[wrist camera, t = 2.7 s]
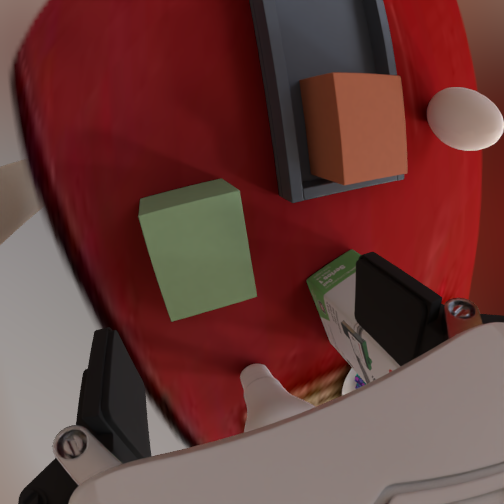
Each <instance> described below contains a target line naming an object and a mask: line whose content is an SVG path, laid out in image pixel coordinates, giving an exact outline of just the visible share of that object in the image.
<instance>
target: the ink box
mask: <svg viewBox="0 0 504 504" xmlns="http://www.w3.org/2000/svg"><path fill="white" fill-rule="evenodd" d="M360 256H361V255H360V254H359V253H357V252H356V251H354V250H352V249H351V250H349V251H348V252H346V253H345V254H343V255H341V256H340V257H338V258H337V259H335V260H334V261H332V262H331V263H329V264H327V265H326V266H325V267H323V268H322V269H320V270H319V271H317V272H316V273H314V274H313V275H312V276H310V277H309V278H308V279H307V280H306V281H307V284H308V287H309V289H310V292H311V295H312V297H313V300H314V302H315V305H316V307H317V310H318V312H319V315H320V318H321V320H322V323H323V326H324V328H325V331H326V333H327V336H328V339H329V341H330V343H331V344H332V345H333V346H334V347H335V349H336V350H337V351H338V352H339V353H340V354H341V355H342V357H343V358H344V359H345V360H346V361H347V362H348V364H349V365H350V366H351V367H352V368H353V369H354V370H355V372H356V373H357V374H358V375H359V376H360V377H361V378H362V380H363V381H364V382H365V383H366V384H368V383H370V382H372V381H374V380H376V379H378V378H380V377H382V376H384V375H386V374H388V373H390V372H391V371H393V370H395V369H397V368H399V367H401V366H400V365H399V364H398V363H397V362H396V361H395V360H394V359H393V358H392V357H391V356H390V355H389V354H388V353H387V352H386V351H385V350H384V349H383V348H382V347H381V346H380V345H379V344H378V343H377V342H376V341H375V340H374V339H373V338H372V337H371V336H370V335H369V334H368V333H367V332H366V331H365V330H364V329H363V328H362V327H361V326H360V325H359V324H358V323H357V321H356V319H355V316H354V311H355V282H356V261H357V260H358V259H359V257H360Z"/></svg>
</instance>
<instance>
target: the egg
mask: <svg viewBox="0 0 504 504" xmlns="http://www.w3.org/2000/svg"><path fill="white" fill-rule="evenodd" d="M427 120H428V124H429V126H430V128H431V130H432V131H433V133H434V134H435V135H436V136H437V137H438V138H439V139H440V140H441V141H442V142H444V143H445V144H447V145H449V146H451V147H453V148H456V149H459V150H466V151H472V150H480V149H484V148H487V147H489V146H491V145H493V144H495V143H496V141H498V139H499V138H500V137H501V135H502V133H503V129H504V121H503V117H502V115H501V113H500V111H499V109H498V108H497V107H496V105H495V104H494V103H493V102H492V101H490V100H489V99H488V98H487V97H485V96H483V95H481V94H480V93H478V92H476V91H474V90H471V89H467V88H461V87H451V88H446V89H444V90H442V91H440V92H438V93H437V94H435V95H434V96H433V98H432V99H431V101H430V102H429V104H428V107H427Z"/></svg>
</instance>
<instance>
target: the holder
mask: <svg viewBox="0 0 504 504" xmlns="http://www.w3.org/2000/svg"><path fill="white" fill-rule="evenodd" d="M249 1H250V7H251V12H252V18H253V23H254V29H255V35H256V40H257V46H258V52H259V58H260V64H261V71H262V77H263V83H264V90H265V96H266V103H267V109H268V116H269V123H270V130H271V137H272V144H273V151H274V159H275V166H276V174H277V181H278V189H279V196H280V197H282V198H284V199H286V200H288V201H290V202H292V203H295V202H299V201H303V200H308V199H312V198H317V197H321V196H326V195H330V194H335V193H339V192H344V191H348V190H353V189H358V188H363V187H367V186H372V185H377V184H382V183H387V182H392V181H396V180H397V181H398V180H403V179H404V174H401V175H396V176H390V177H385V178H380V179H375V180H369V181H364V182H359V183H354V184H349V185H342V184H339V183H336V182H333V181H330V180H327V179H324V178H321V177H318V176H315V175H312V174H311V172H310V162H309V153H308V144H307V135H306V127H305V119H304V112H303V104H302V97H301V90H300V83H299V80H302V79H306V78H310V77H314V76H318V75H323V74H327V73H332V72H345V73H370V74H385V75H396V76H397V72H396V65H395V59H394V52H393V46H392V41H391V35H390V30H389V25H388V21H387V16H386V11H385V7H384V3H383V0H249Z"/></svg>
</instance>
